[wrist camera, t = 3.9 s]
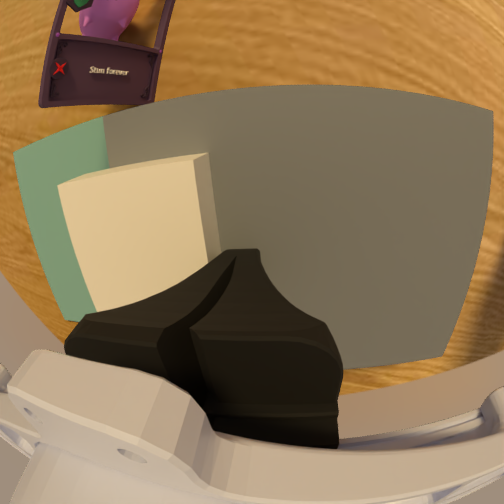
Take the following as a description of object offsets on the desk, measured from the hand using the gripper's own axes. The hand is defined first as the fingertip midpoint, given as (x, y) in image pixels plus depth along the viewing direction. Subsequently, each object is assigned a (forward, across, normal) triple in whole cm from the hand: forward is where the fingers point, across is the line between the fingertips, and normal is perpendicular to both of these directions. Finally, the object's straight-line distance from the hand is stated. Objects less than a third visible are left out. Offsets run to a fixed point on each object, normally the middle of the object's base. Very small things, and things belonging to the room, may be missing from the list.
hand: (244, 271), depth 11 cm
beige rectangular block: (+1, +4, 0) cm, 4 cm away
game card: (+5, +6, -12) cm, 15 cm away
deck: (+5, -3, 0) cm, 6 cm away
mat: (+5, +12, 0) cm, 13 cm away
